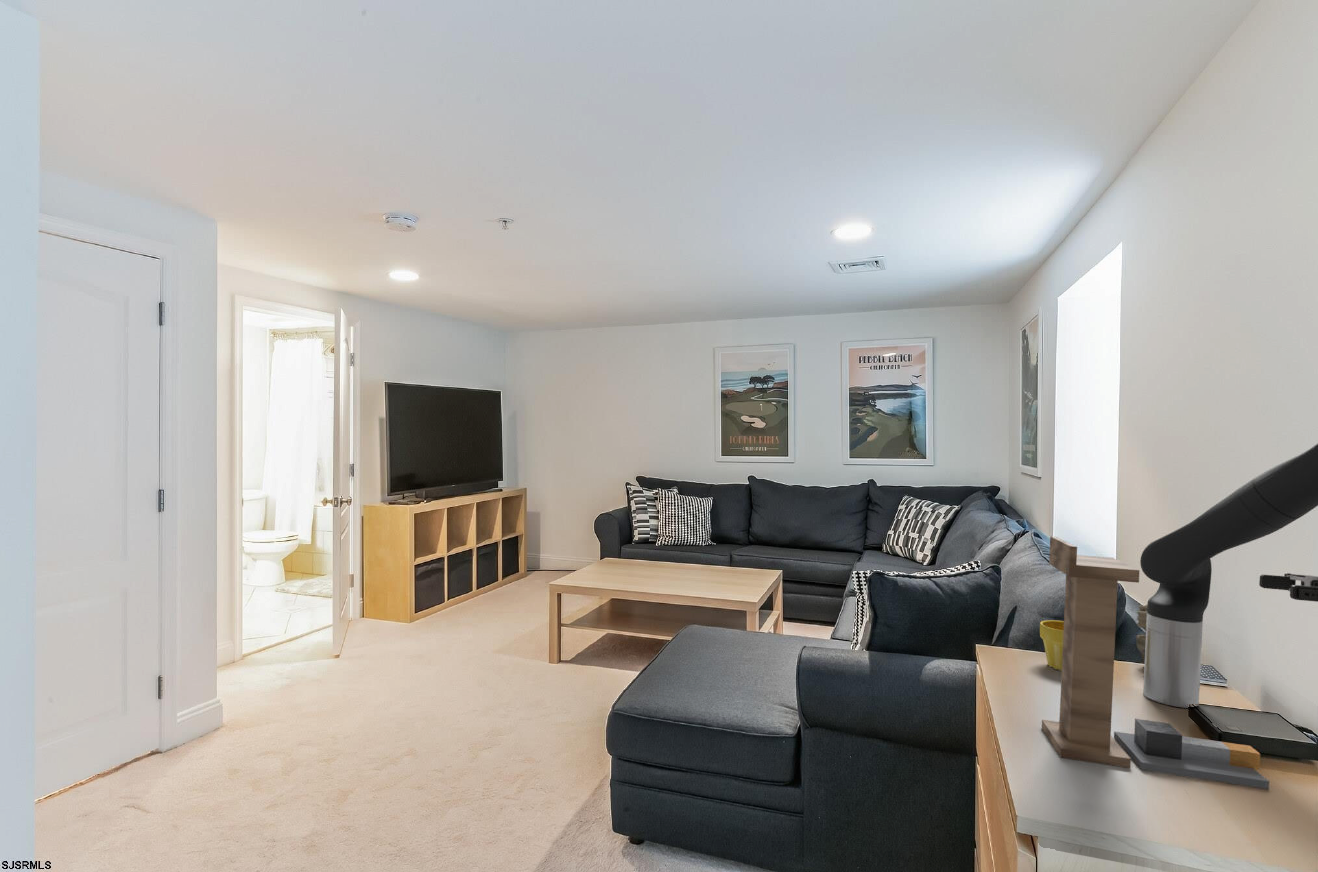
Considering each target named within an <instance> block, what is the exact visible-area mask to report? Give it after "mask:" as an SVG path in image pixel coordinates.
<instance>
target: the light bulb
mask: <svg viewBox="0 0 1318 872" xmlns="http://www.w3.org/2000/svg"><path fill="white" fill-rule="evenodd" d="M1138 608H1139V609H1138V610H1137V612H1136V613H1137V615H1138V616H1137V617H1136V619H1137V621H1138V622H1137V627H1138V628H1141V629H1143V630H1144V631H1145V632H1146V623H1147V604H1146V605H1139V606H1138ZM1145 646H1146V633H1144V634H1136V648H1137V650H1138V651H1139V653H1140V656H1141V663H1142V664H1143V665H1145Z"/></svg>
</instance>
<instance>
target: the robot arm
mask: <svg viewBox="0 0 1318 872" xmlns="http://www.w3.org/2000/svg"><path fill="white" fill-rule="evenodd" d="M1316 507H1318V442H1317V443H1316V444H1314V445H1313V446H1312V447H1310V448H1309V449H1306V450H1305V451H1304V452H1301V453H1300V454H1298V455H1296V456H1294V457H1291V458H1290V459H1287V460H1285V461H1283V462H1281V463H1279V464H1277V465H1275V466H1272V467H1271V468H1269V469H1268V470H1266V471H1264V472H1261V473H1260V474H1259V475H1257V476H1255V477H1254V478H1252V479H1251V480H1249V481H1248V482H1247V483H1245V484H1243V485H1242V486H1240V487H1238V488H1237V489H1236V490H1234V491H1233V492H1232V493H1231V494H1229V495H1228V496H1226V497H1225V498H1223V499H1222V500H1220V501H1218V502H1217V503H1216V504H1214V505H1213V506H1211V507H1210V508H1208V509H1207V510H1206V511H1205V512H1203V513H1202V514H1200V516H1198V517H1196V518H1195V519H1194V520H1192V521H1190V522H1189V523H1187V524H1185V525H1183V526H1182V527H1181V526H1180V527H1179V528H1178V529H1176V530H1174V531H1171V532H1170V533H1167V534H1165V535H1163V536H1162V537H1160V538H1158V539H1155V540H1154V541H1152V542H1150V543H1149V544H1148V545H1147V546H1145V548H1144V549H1143V551H1142V553H1141V556H1140V562H1139V563H1140V568H1141V571H1142V573H1143V574H1144V576H1146V578H1148V579H1150V580H1152V581H1153V582H1155V583H1159V587H1158V589H1157V591H1156V592H1155V593H1154V594H1153V595H1151V597H1150V598H1149V599H1148V600H1147V604H1146V605H1147V623H1146V631H1145V634H1146V646H1145V664H1144V670H1143V671H1144V672H1143V690H1142V694H1143V695H1144V696H1145V697H1146V698H1147V699H1149V700H1152V701H1154V702H1156V703H1159V704H1164V705H1167V706H1172V707H1177V708H1182V709H1183V708H1184V709H1189V708H1188V706H1189V704H1199V705H1200V689H1201V687H1200V686H1201V668H1202V667H1201V666H1202V648H1203V646H1202V645H1203V644H1202V643H1203V624H1204V622H1203V621H1204V619H1203V618H1204V613H1205V611H1206V609H1207V608H1208V605H1209V601H1210V591H1211V582H1212V581H1211V580H1212V572H1213V571H1212V570H1213V569H1212V568H1213V567H1212V560H1211V559H1212V558H1214V557H1215V556H1217V555H1219V554H1221V553H1223V552H1225V551H1227V550H1231V549H1233V548H1236V547H1239V546H1242V545H1244V544H1248V543H1251V542H1253V541H1256V540H1258V539H1261V538H1264V537H1266V536H1268V535H1271V534H1273V533H1275V532H1277V531H1279V530H1281V529H1283V528H1284V527H1286V526H1288V525H1290V524H1292V523H1293V522H1295V521H1296V520H1298V519H1300V518H1302V517H1304V516H1305V515H1307V514H1308V513H1310V512H1311V511H1312V510H1314V509H1315V508H1316ZM1296 581H1300V585H1299V584H1296ZM1258 582H1259V583H1258V584H1259V587H1261V588H1262V589H1269V590H1281V591H1287V592H1289V597H1290V598H1291V599H1292V600H1296V601H1304V602H1305V601H1307V602H1316V603H1318V576H1317V575H1310V574H1308V575H1306V574H1304V575H1303V574H1295V573H1293V574H1292V573H1290V572H1288V573H1284V575H1273V574H1261V575H1260V576H1259V581H1258Z"/></svg>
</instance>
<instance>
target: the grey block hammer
mask: <svg viewBox="0 0 1318 872" xmlns="http://www.w3.org/2000/svg"><path fill="white" fill-rule="evenodd" d="M1133 734H1134V742H1135V743H1136V745H1137V746H1138V747H1139V748H1140V749H1141V750H1142V751H1143V752H1144V753H1145V755H1151V756H1157V757H1164V758H1171V759H1177V760H1181V758H1186V759H1193V760H1199V761H1206V762H1213V763H1219V764H1226V765H1233V766H1239V767H1246V768H1253V769H1255V770H1260V769H1261V767H1260V766H1261V753H1260V752H1258V751H1257V750H1256V749H1254V748H1253V746H1251V745H1248V744H1239V743H1232V742H1225V741H1217V740H1214V739H1213V740H1211V739H1205V738H1204V739H1203V738H1197V737H1191V736H1186V735H1185V736H1183V735H1182V733H1180V732H1179V731H1178V730H1177V729H1176V728H1175V727H1174V726H1173V725H1171V724H1170V723H1169V722H1162V721H1155V720H1148V719H1140V718H1139V719H1138V718H1134V733H1133Z"/></svg>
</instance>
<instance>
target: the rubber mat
mask: <svg viewBox="0 0 1318 872" xmlns="http://www.w3.org/2000/svg"><path fill="white" fill-rule="evenodd" d="M1113 739H1114V740H1115V741H1116V742H1117V743H1118V744H1119V746H1120V747H1121V748H1122V749H1123V750H1124V751H1125V753H1126V754H1127V755H1128V756H1129V757H1130V758H1131V761H1133V762H1134V764H1135V765H1136V766H1137V767H1138V768H1139V769H1140V770H1141V771H1148V772H1154V773H1162V774H1166V775H1167V774H1168V775H1174V776H1179V777H1187V778H1192V779H1198V780H1206V781H1213V782H1219V783H1224V784H1225V783H1227V784H1233V785H1240V786H1245V787H1253V788H1259V789H1266V790H1269V789H1270V781H1269V780H1268V779H1267V778H1266V777H1264V776H1263V775H1262V774H1261V773H1260V772H1258V770H1257V769H1253V768H1246V767H1239V766H1233V765H1226V764H1219V763H1213V762H1206V761H1199V760H1193V759H1186V758H1181V760H1177V759H1171V758H1164V757H1157V756H1151V755H1145V753H1144V752H1143V751H1142V750H1141V749H1140V748H1139V747H1138V746H1137V745H1136V743H1135V742H1134V733H1126V732H1120V731H1113Z"/></svg>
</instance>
